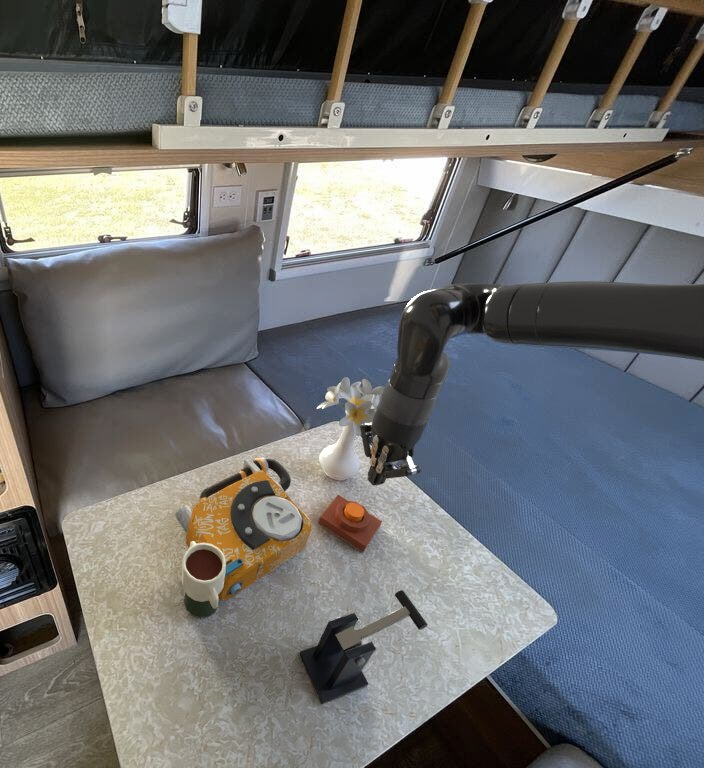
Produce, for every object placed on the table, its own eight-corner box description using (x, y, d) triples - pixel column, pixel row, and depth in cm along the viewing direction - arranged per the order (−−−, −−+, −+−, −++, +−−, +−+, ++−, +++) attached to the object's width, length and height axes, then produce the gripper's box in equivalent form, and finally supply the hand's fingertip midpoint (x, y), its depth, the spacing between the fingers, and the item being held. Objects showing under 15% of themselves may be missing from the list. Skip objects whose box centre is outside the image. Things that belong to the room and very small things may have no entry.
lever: (402, 593, 61) (403, 587, 59) (427, 627, 57) (428, 622, 55) (331, 629, 60) (329, 624, 59) (350, 666, 56) (349, 661, 55)
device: (156, 494, 81) (270, 441, 94) (158, 519, 86) (266, 465, 99) (220, 590, 66) (346, 511, 78) (217, 614, 71) (337, 536, 83)
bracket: (340, 639, 68) (360, 602, 60) (366, 686, 62) (392, 652, 55) (298, 654, 66) (313, 618, 58) (321, 704, 60) (341, 672, 53)
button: (364, 514, 84) (367, 509, 83) (357, 525, 81) (359, 520, 80) (348, 504, 86) (350, 499, 85) (340, 515, 83) (342, 509, 82)
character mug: (232, 624, 69) (239, 585, 62) (193, 640, 67) (195, 602, 60) (207, 568, 78) (211, 527, 70) (172, 580, 75) (172, 540, 68)
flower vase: (387, 481, 95) (424, 398, 81) (318, 498, 91) (345, 414, 76) (354, 444, 106) (382, 364, 91) (291, 457, 101) (310, 376, 86)
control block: (379, 527, 85) (384, 515, 83) (363, 552, 81) (368, 541, 78) (335, 500, 91) (339, 489, 88) (318, 522, 86) (322, 511, 84)
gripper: (456, 431, 60) (417, 505, 70) (395, 381, 70) (368, 452, 80) (414, 441, 58) (380, 516, 68) (358, 388, 68) (336, 460, 78)
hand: (374, 481), depth 74 cm, fingers closed
